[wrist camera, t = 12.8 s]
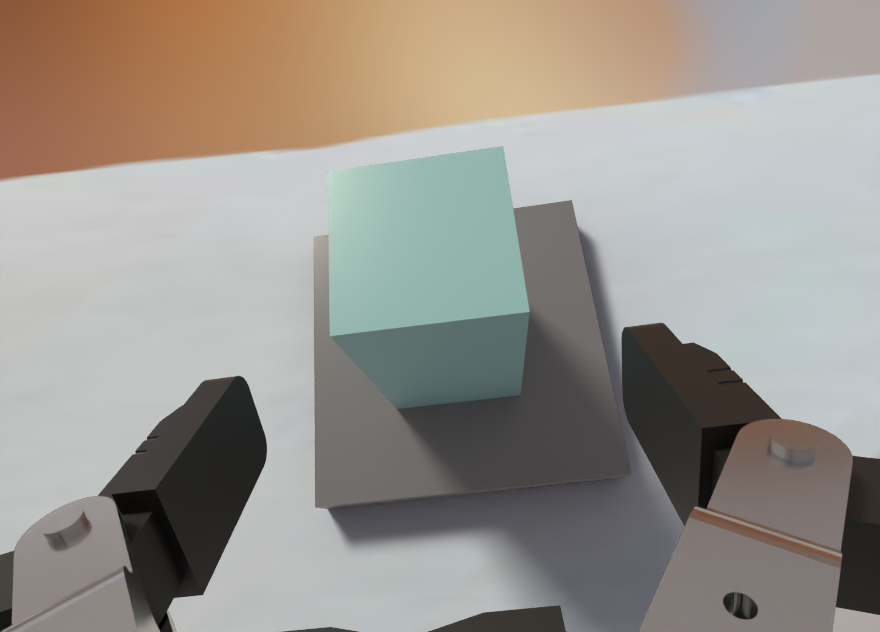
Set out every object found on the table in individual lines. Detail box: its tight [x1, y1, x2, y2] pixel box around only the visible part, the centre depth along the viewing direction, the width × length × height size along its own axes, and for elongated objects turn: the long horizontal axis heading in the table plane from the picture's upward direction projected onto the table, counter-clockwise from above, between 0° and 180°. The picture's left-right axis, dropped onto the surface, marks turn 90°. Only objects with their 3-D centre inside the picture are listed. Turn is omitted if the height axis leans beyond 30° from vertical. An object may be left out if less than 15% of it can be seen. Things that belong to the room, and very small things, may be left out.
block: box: [328, 146, 530, 409], centre depth 18 cm, size 5×5×9 cm
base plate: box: [314, 200, 631, 509], centre depth 22 cm, size 12×12×4 cm
